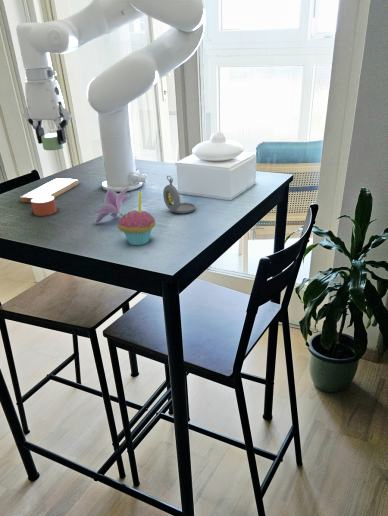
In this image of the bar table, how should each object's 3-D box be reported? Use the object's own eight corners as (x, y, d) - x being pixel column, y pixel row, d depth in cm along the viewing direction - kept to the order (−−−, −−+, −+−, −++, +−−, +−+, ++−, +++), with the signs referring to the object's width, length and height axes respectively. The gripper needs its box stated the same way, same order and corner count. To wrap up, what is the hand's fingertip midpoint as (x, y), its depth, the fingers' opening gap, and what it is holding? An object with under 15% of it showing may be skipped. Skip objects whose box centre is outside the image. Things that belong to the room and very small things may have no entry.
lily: (141, 217, 130) (122, 184, 127) (149, 213, 119) (130, 177, 116) (103, 239, 128) (83, 206, 125) (108, 237, 117) (87, 201, 114)
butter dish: (230, 200, 136) (230, 140, 127) (176, 193, 143) (173, 136, 134) (256, 183, 148) (257, 127, 139) (205, 177, 156) (203, 124, 147)
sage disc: (68, 145, 147) (66, 133, 145) (57, 150, 142) (54, 138, 140) (51, 144, 149) (48, 132, 147) (39, 149, 144) (36, 137, 142)
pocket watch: (198, 207, 132) (197, 169, 126) (188, 217, 125) (186, 178, 120) (171, 205, 134) (168, 168, 129) (159, 215, 128) (156, 177, 122)
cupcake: (141, 232, 118) (136, 182, 112) (164, 240, 113) (160, 189, 107) (113, 242, 114) (106, 191, 107) (136, 252, 109) (129, 199, 102)
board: (78, 184, 155) (78, 179, 155) (43, 203, 140) (42, 198, 139) (57, 182, 158) (56, 178, 157) (20, 202, 142) (19, 197, 142)
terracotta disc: (61, 208, 136) (58, 196, 134) (48, 216, 131) (45, 203, 129) (42, 207, 138) (39, 194, 135) (28, 214, 133) (25, 202, 131)
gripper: (73, 73, 135) (83, 141, 145) (21, 74, 140) (35, 139, 150) (59, 76, 129) (71, 147, 139) (5, 77, 134) (20, 144, 144)
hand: (52, 142), depth 145 cm, fingers closed on sage disc, 6 cm apart
